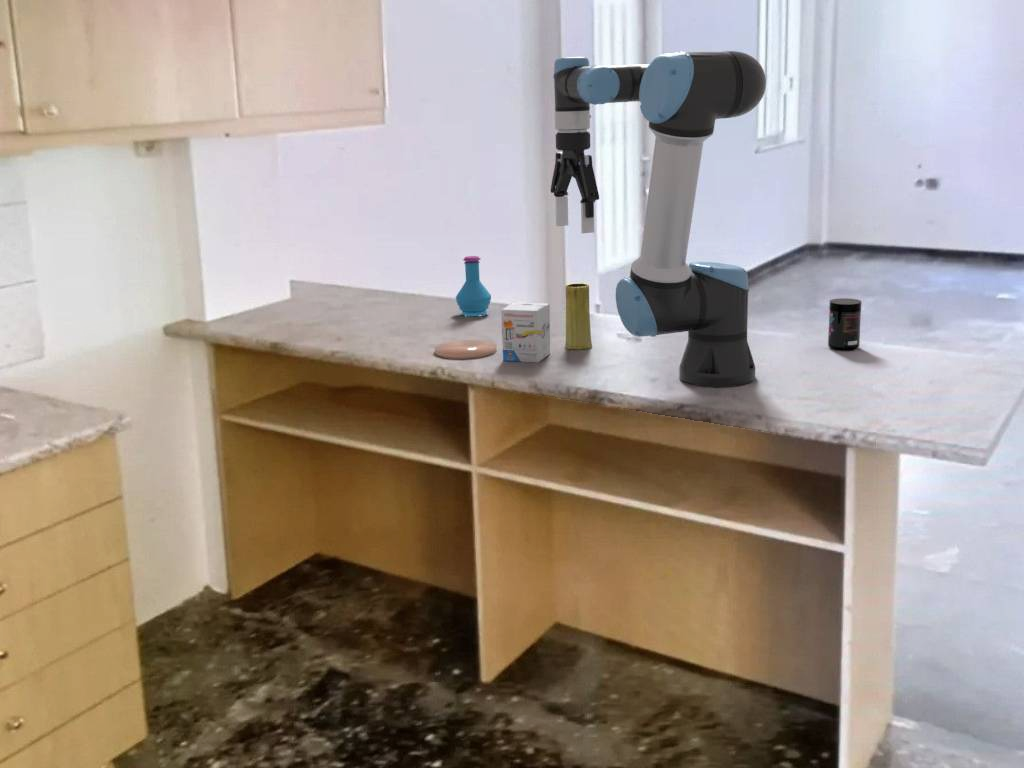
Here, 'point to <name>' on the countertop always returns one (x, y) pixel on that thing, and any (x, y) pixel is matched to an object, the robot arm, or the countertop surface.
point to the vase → (577, 317)
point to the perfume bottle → (473, 290)
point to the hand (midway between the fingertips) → (574, 229)
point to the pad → (465, 349)
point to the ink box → (526, 332)
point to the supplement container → (844, 324)
